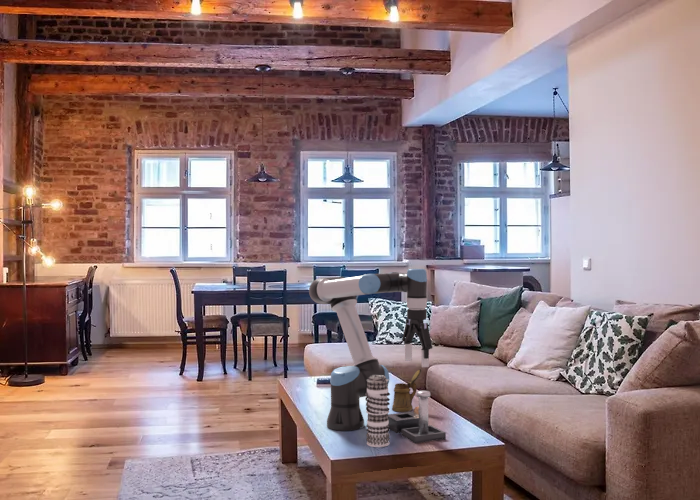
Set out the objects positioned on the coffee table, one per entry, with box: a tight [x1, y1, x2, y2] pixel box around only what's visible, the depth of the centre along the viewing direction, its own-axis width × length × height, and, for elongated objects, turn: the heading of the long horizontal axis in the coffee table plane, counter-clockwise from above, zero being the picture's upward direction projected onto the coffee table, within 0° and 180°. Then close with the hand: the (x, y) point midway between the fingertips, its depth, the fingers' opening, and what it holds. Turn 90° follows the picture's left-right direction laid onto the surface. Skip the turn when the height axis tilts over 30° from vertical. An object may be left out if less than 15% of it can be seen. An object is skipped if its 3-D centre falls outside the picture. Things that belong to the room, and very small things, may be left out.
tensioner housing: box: [388, 406, 419, 434], centre depth 260 cm, size 15×10×8 cm
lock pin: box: [416, 390, 431, 435], centre depth 247 cm, size 5×5×16 cm
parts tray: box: [401, 424, 447, 444], centre depth 247 cm, size 13×11×2 cm
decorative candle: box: [364, 375, 391, 448], centre depth 240 cm, size 9×9×25 cm
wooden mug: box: [391, 368, 423, 413], centre depth 290 cm, size 9×14×18 cm, turn 96°
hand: (416, 363), depth 251 cm, fingers open, 13 cm apart
